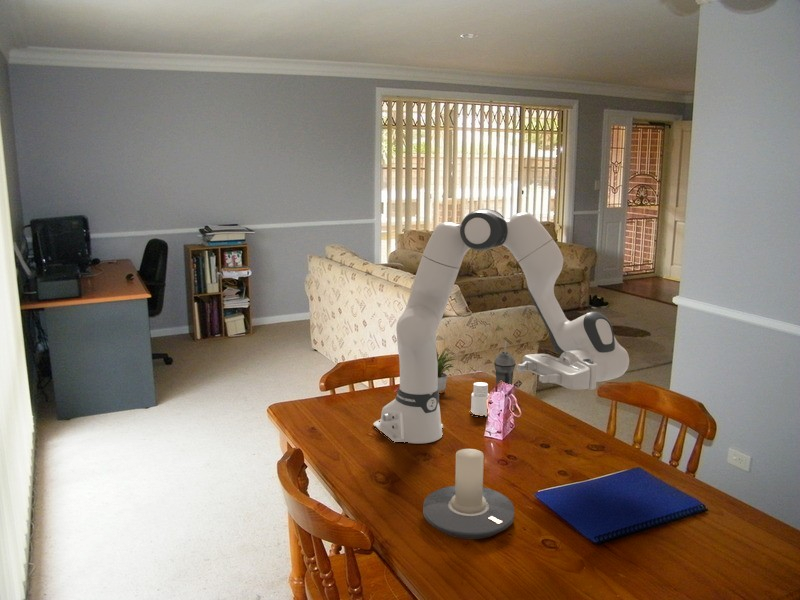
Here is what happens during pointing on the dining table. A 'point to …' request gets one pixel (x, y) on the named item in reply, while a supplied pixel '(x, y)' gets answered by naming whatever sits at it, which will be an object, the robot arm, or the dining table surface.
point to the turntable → (469, 525)
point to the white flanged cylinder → (469, 482)
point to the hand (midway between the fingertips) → (529, 373)
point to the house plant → (443, 369)
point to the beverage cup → (504, 367)
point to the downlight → (479, 398)
